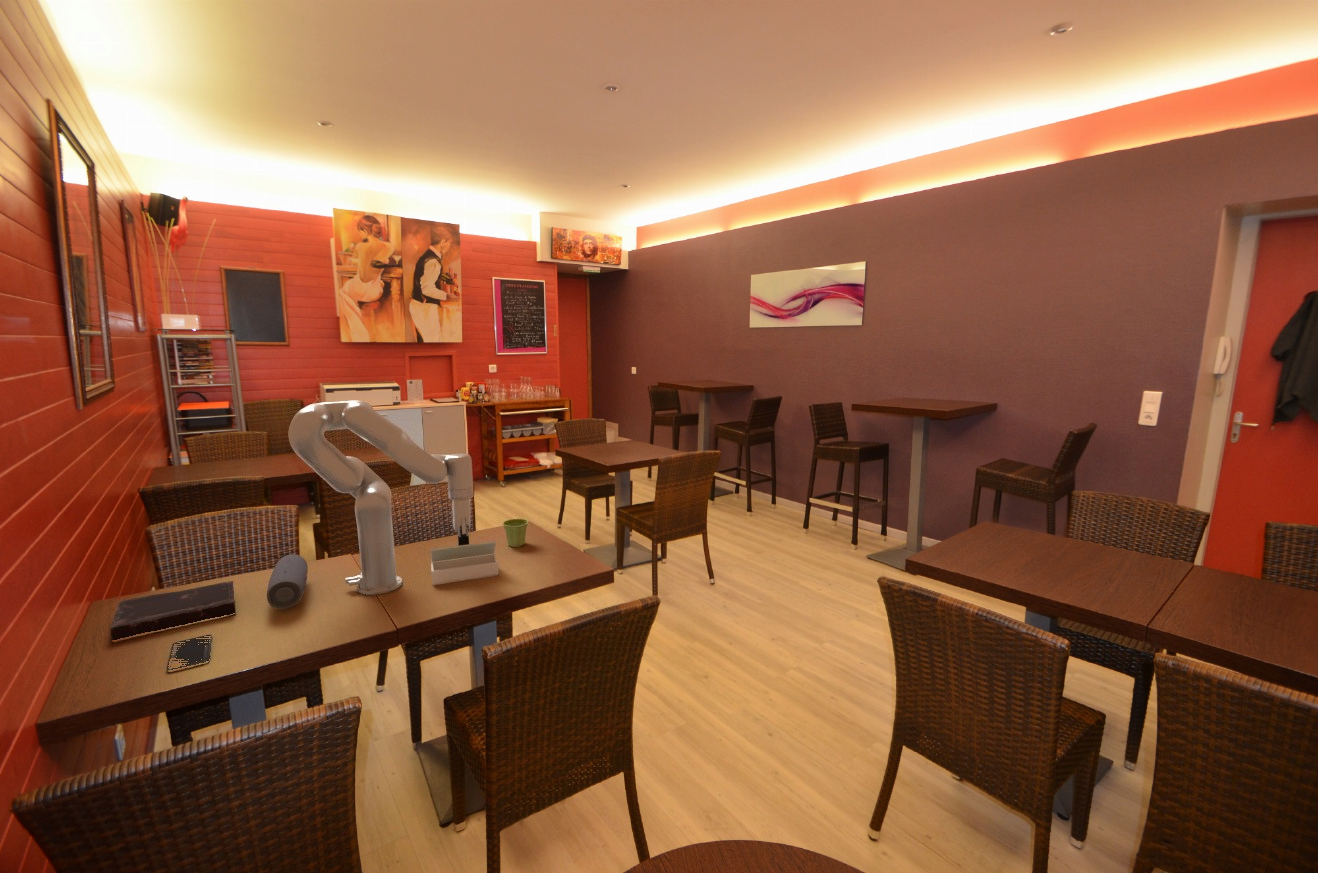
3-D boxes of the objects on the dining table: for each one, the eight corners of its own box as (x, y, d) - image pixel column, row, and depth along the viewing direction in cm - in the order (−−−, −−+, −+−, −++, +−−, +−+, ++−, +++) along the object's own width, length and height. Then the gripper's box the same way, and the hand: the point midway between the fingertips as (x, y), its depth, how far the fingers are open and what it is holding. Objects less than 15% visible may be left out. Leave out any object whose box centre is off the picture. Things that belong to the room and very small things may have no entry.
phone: (165, 671, 129) (172, 642, 141) (166, 675, 130) (173, 646, 142) (209, 660, 134) (212, 633, 146) (210, 664, 134) (213, 637, 146)
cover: (431, 550, 178) (430, 549, 178) (431, 562, 184) (431, 560, 184) (495, 542, 185) (495, 541, 186) (494, 553, 191) (494, 552, 192)
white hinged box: (432, 585, 177) (431, 571, 176) (431, 575, 184) (431, 562, 184) (498, 575, 185) (498, 562, 184) (495, 566, 192) (494, 553, 191)
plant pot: (502, 541, 216) (502, 519, 215) (528, 539, 219) (527, 517, 218) (503, 550, 208) (503, 527, 206) (530, 547, 210) (529, 525, 209)
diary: (236, 618, 157) (234, 601, 156) (112, 646, 142) (109, 628, 141) (234, 593, 172) (232, 577, 171) (122, 617, 157) (119, 600, 156)
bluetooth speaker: (306, 609, 161) (302, 576, 159) (266, 617, 156) (262, 582, 155) (311, 580, 181) (308, 550, 179) (276, 585, 176) (272, 555, 175)
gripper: (447, 488, 187) (450, 541, 190) (449, 499, 173) (453, 557, 176) (471, 486, 189) (473, 538, 192) (475, 497, 176) (478, 553, 179)
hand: (463, 547), depth 184 cm, fingers closed
